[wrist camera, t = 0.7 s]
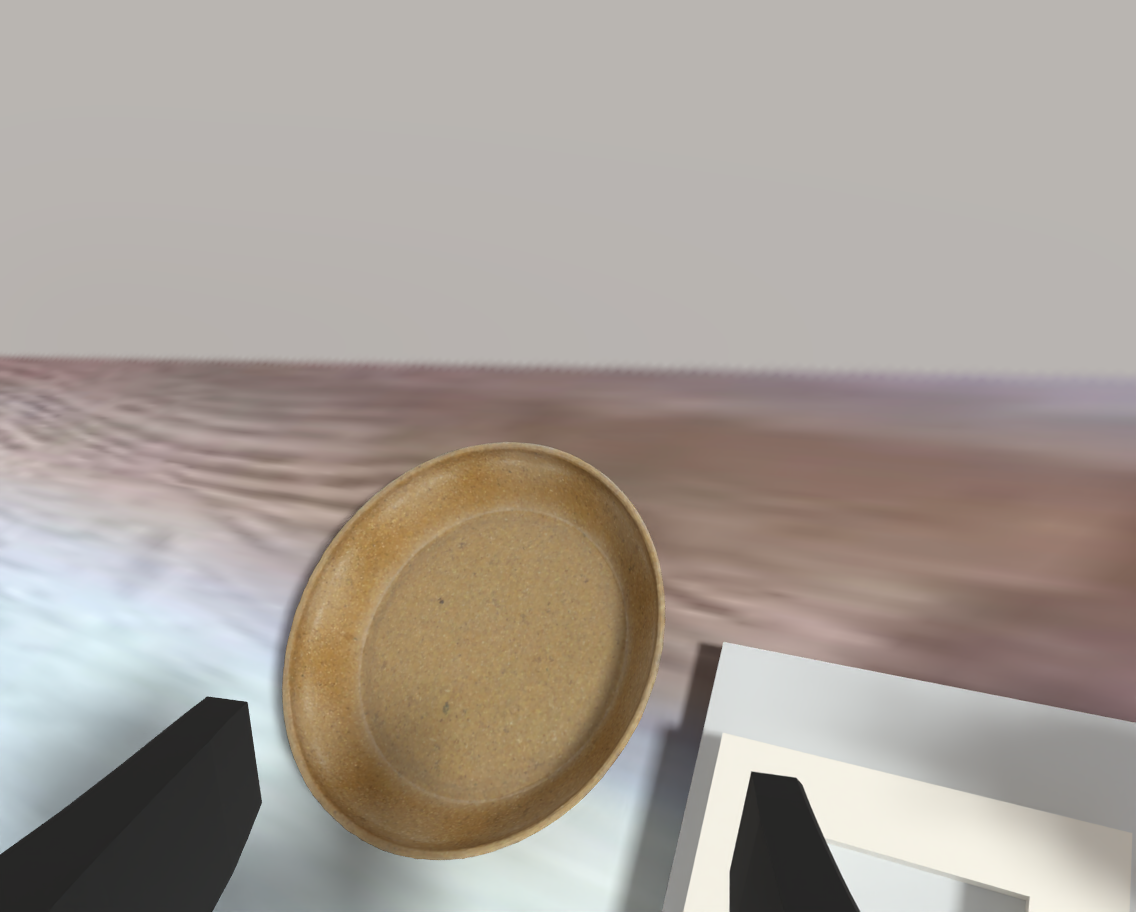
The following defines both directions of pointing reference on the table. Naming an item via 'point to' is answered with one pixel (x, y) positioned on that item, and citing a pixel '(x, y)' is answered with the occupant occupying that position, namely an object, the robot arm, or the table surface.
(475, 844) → the plant saucer
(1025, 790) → the holder stand
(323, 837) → the table surface
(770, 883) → the robot arm
